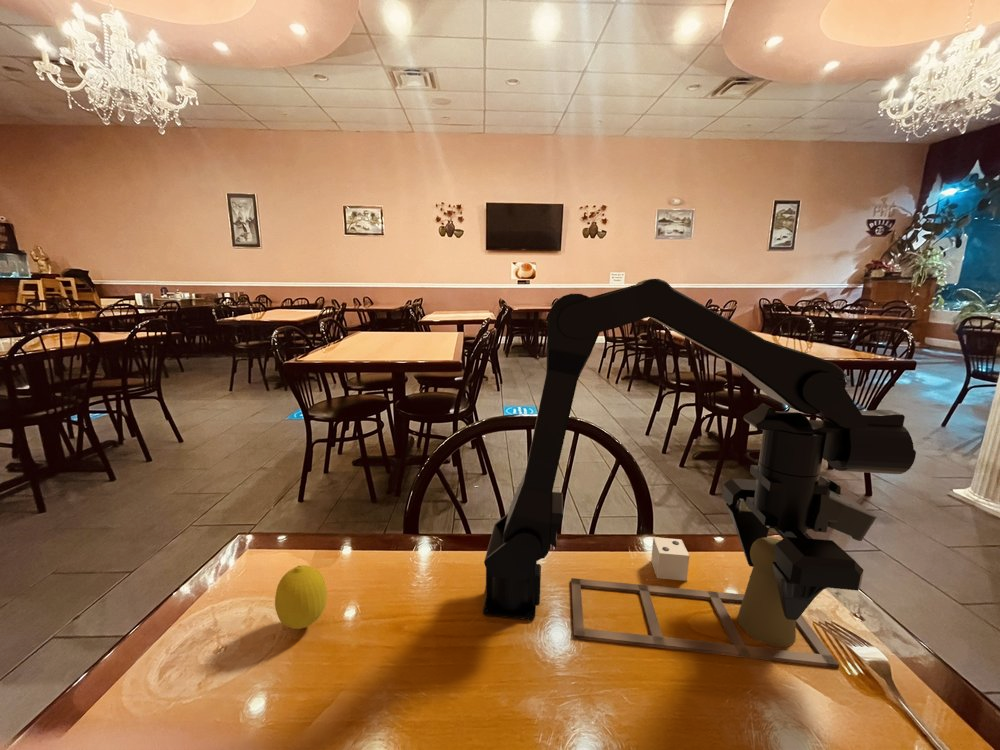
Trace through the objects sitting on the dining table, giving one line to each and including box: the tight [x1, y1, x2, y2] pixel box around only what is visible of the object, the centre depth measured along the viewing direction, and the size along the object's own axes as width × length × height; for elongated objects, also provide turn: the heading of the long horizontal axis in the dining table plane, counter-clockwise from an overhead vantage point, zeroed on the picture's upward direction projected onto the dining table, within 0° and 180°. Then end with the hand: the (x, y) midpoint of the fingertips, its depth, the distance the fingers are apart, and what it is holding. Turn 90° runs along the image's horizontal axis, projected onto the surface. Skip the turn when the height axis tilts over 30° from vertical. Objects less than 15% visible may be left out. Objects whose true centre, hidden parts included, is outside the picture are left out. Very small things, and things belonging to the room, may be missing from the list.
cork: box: [736, 536, 797, 648], centre depth 51 cm, size 6×6×11 cm
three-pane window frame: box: [570, 577, 840, 669], centre depth 53 cm, size 28×10×1 cm, turn 82°
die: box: [650, 536, 690, 582], centre depth 62 cm, size 4×4×4 cm
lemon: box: [274, 564, 328, 630], centre depth 50 cm, size 6×6×8 cm
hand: (770, 590), depth 51 cm, fingers open, 9 cm apart
